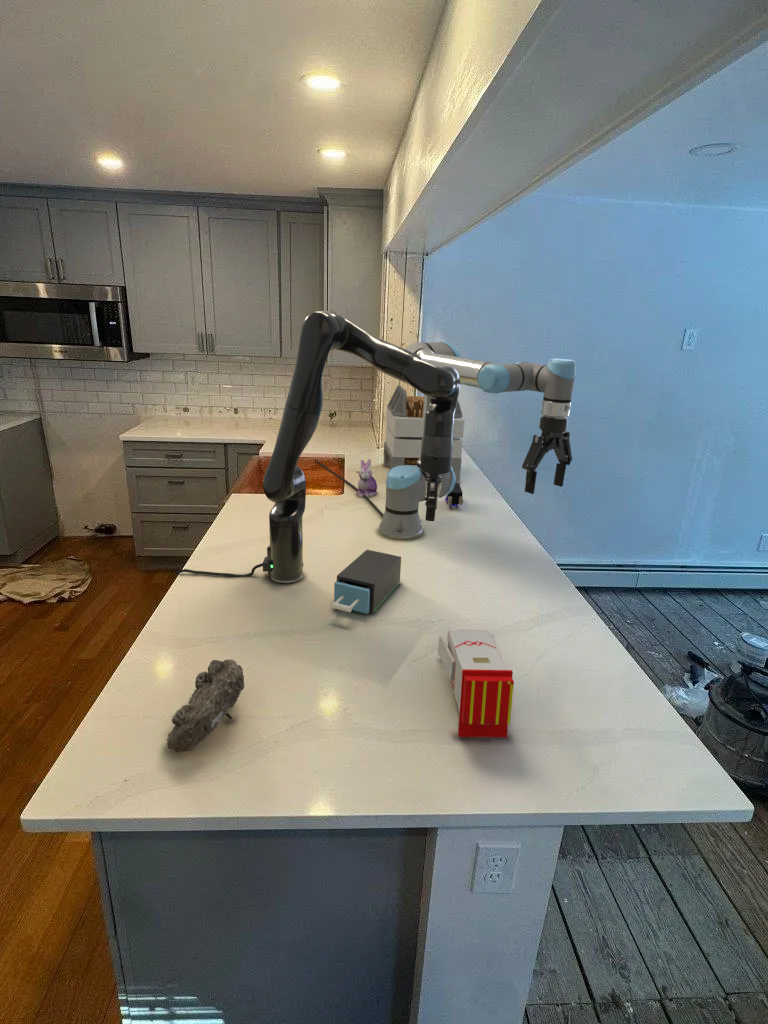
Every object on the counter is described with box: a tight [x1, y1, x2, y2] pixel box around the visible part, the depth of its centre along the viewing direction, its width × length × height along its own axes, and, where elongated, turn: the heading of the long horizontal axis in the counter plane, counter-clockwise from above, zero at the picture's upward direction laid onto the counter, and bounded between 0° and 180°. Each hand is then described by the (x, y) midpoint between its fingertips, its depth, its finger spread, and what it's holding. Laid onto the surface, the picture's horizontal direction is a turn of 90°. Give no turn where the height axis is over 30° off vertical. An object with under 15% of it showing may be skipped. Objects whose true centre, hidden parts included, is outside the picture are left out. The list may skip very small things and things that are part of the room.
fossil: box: [166, 658, 245, 754], centre depth 106 cm, size 22×10×15 cm
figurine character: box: [444, 483, 464, 510], centre depth 231 cm, size 7×8×15 cm
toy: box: [437, 628, 515, 738], centre depth 117 cm, size 12×13×30 cm
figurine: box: [357, 458, 378, 498], centre depth 238 cm, size 9×10×15 cm
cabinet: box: [336, 549, 402, 614], centre depth 156 cm, size 19×11×8 cm, turn 157°
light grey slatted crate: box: [383, 384, 465, 484], centre depth 268 cm, size 34×33×41 cm
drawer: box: [330, 580, 371, 615], centre depth 151 cm, size 24×10×6 cm, turn 157°
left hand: (431, 514), depth 142 cm, fingers open, 8 cm apart
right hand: (543, 489), depth 165 cm, fingers open, 13 cm apart
